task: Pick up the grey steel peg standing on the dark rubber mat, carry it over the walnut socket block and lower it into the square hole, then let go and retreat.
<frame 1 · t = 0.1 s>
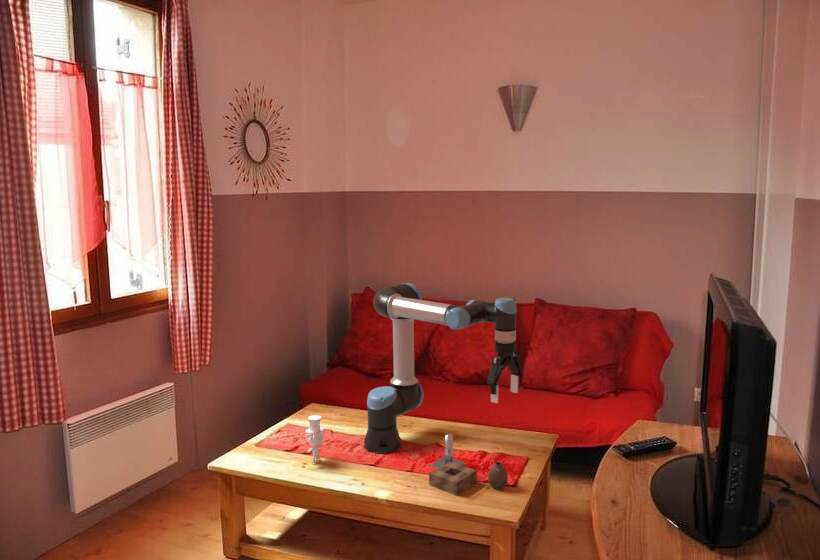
hand: (504, 397, 238), 28 cm above the table, fingers open, 13 cm apart
figurine: (316, 462, 250), on the table
peg: (448, 465, 245), resting on mat
vase: (497, 487, 229), on the table
block: (452, 484, 231), on the table
mat: (447, 465, 247), on the table
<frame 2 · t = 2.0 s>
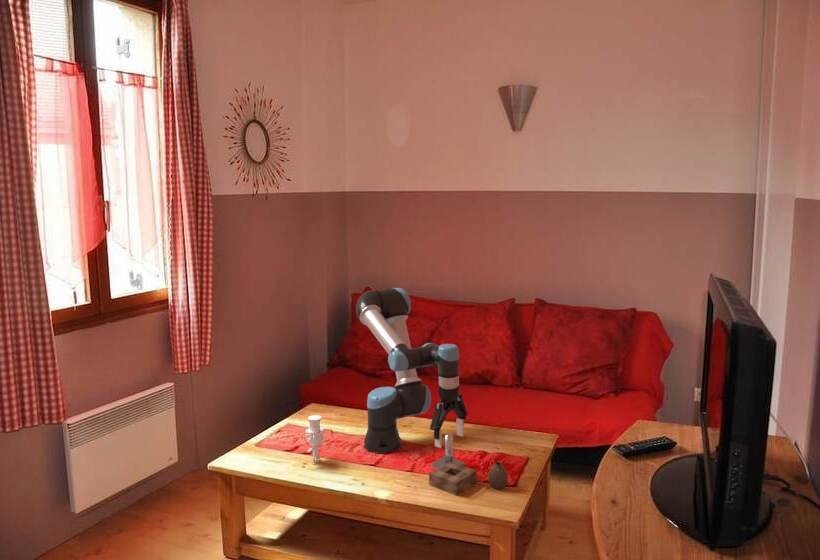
hand: (449, 441, 243), 10 cm above the table, fingers open, 13 cm apart
nothing on the table moved.
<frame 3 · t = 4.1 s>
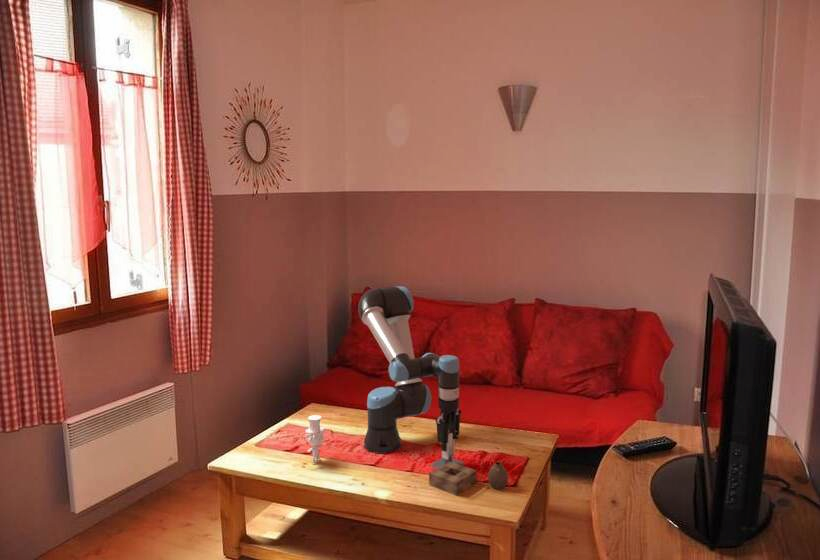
hand: (448, 456, 245), 4 cm above the table, fingers closed on peg, 3 cm apart
peg: (448, 462, 246), point 1 cm above the table, touching gripper
everything else where it was.
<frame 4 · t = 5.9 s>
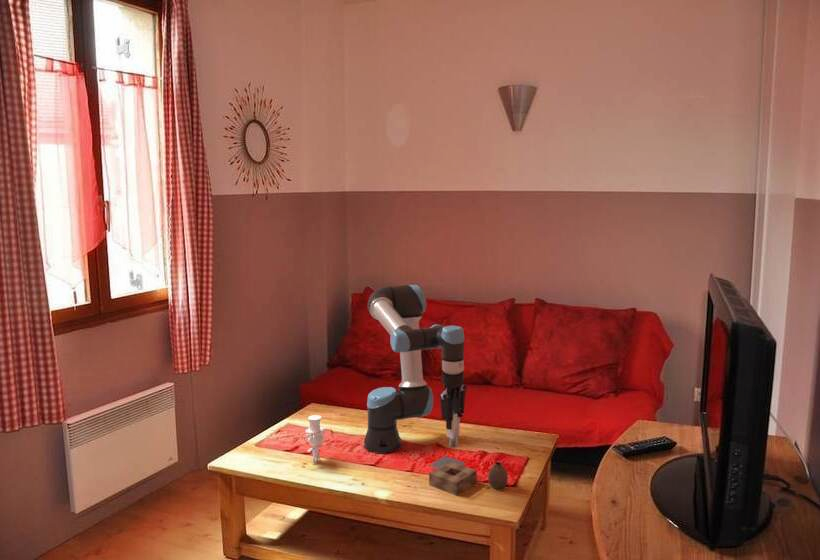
hand: (453, 435, 228), 18 cm above the table, fingers closed on peg, 2 cm apart
peg: (453, 445, 228), point 15 cm above the table, touching gripper
everything else where it was.
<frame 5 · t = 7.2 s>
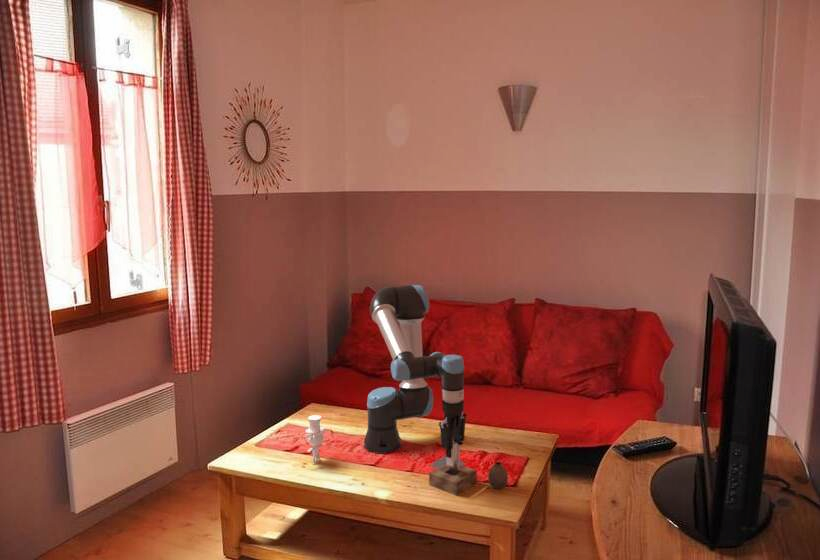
hand: (453, 463, 229), 8 cm above the table, fingers closed on peg, 3 cm apart
peg: (453, 474, 230), point 4 cm above the table, touching gripper
everything else where it was.
when the fingers open (6 cm above the table, at t = 8.1 s): peg drops 2 cm, resting in block.
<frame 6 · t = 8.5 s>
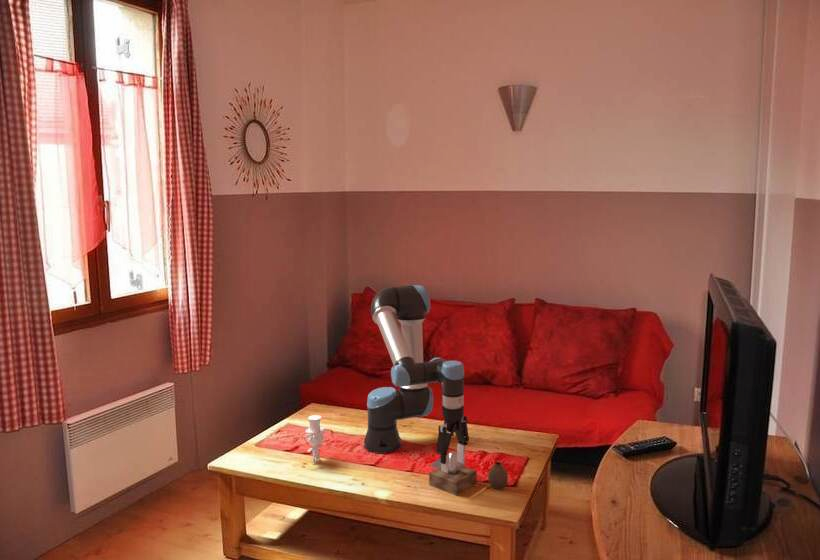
hand: (452, 466, 230), 7 cm above the table, fingers open, 9 cm apart
peg: (453, 485, 231), resting in block
everything else where it was.
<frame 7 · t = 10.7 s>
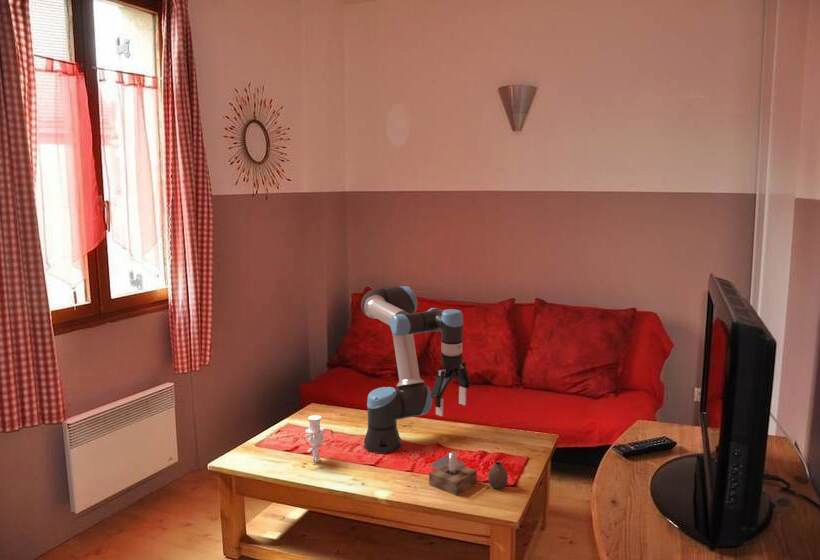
hand: (451, 409, 235), 25 cm above the table, fingers open, 13 cm apart
nothing on the table moved.
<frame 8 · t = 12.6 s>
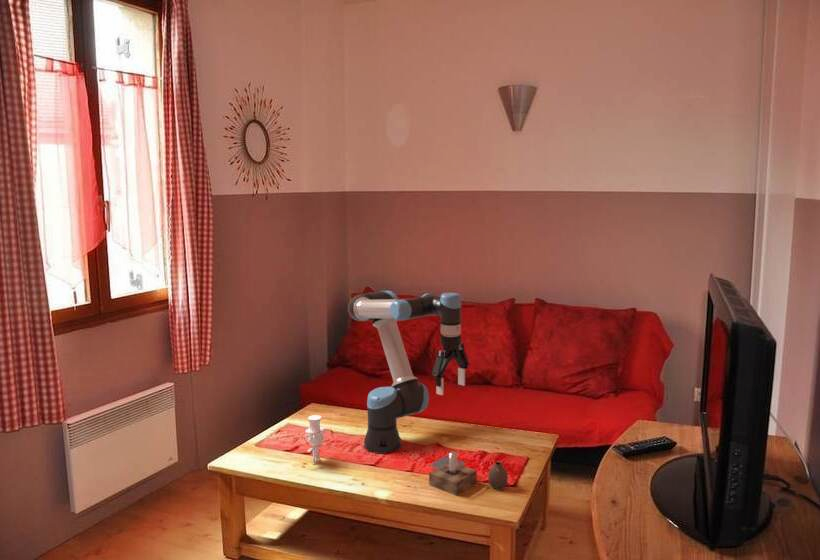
hand: (450, 389, 245), 29 cm above the table, fingers open, 13 cm apart
nothing on the table moved.
at the end: peg 0.0 cm off-centre on the block, point 0.0 cm above the block's base; peg tilted 0°; the gripper is holding nothing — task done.
